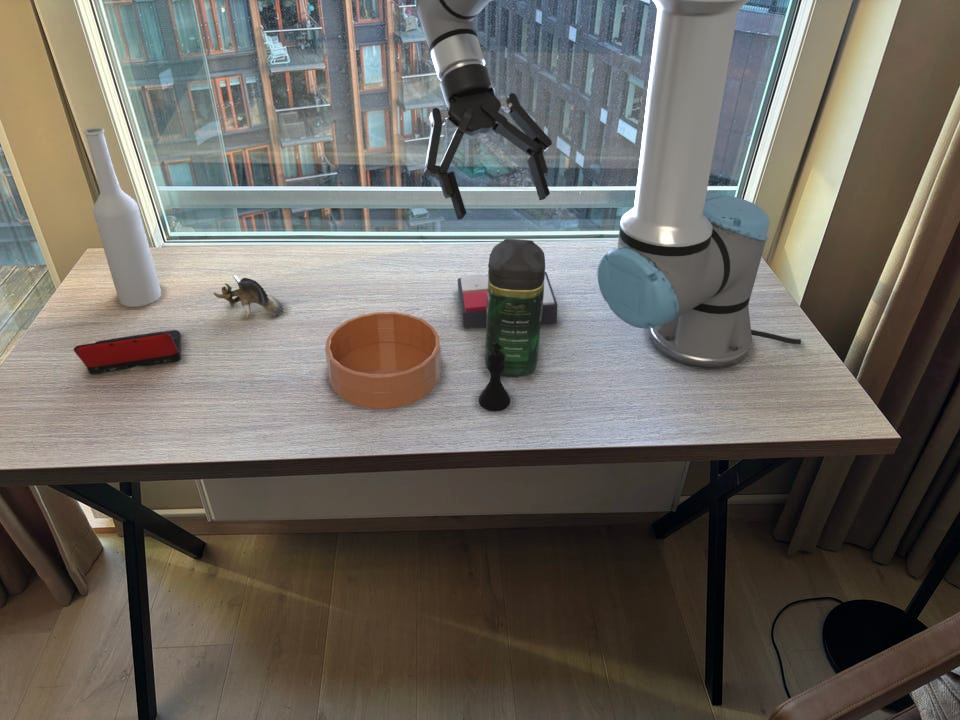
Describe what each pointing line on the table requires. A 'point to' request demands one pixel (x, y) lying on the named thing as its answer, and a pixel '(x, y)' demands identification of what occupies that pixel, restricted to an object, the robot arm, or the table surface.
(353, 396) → the pot
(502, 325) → the coffee jar
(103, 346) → the handheld console
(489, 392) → the chess piece
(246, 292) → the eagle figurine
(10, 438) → the table surface
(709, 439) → the table surface
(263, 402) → the table surface
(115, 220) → the bottle
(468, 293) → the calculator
